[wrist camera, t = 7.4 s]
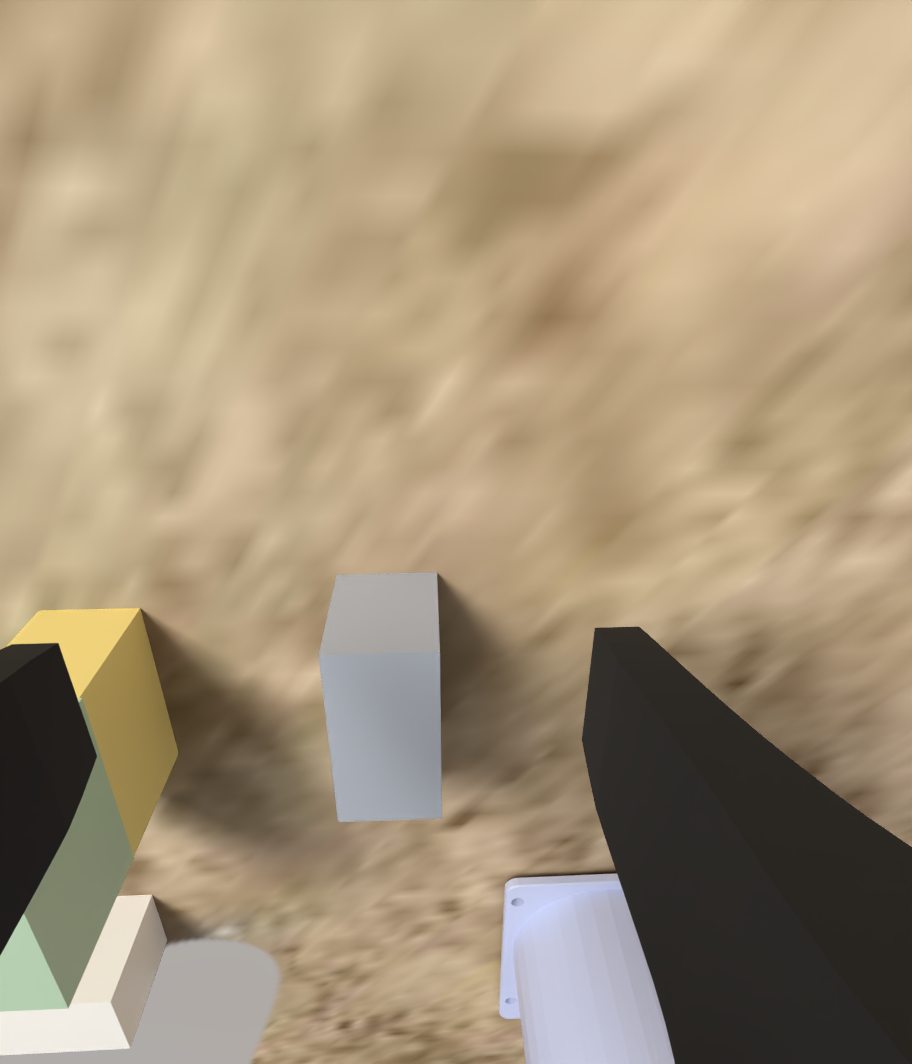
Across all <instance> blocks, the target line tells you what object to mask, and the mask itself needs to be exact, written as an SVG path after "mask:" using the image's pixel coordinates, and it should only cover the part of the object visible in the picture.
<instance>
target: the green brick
mask: <svg viewBox="0 0 912 1064" xmlns="http://www.w3.org/2000/svg"><path fill="white" fill-rule="evenodd" d="M77 699H78V702H79V705H80V707H81V710H82V713H83V716H84V719H85V722H86V725H87V728H88V731H89V734H90V737H91V740H92V742H93V745H94V748H95V751H96V754H97V758H96V761H95V764H94V767H93V769H92V772H91V775H90V777H89V780H88V783H87V786H86V788H85V791H84V794H83V796H82V799H81V801H80V804H79V806H78V809H77V811H76V813H75V816H74V818H73V821H72V823H71V826H70V828H69V830H68V832H67V834H66V836H65V838H64V840H63V842H62V844H61V846H60V847H59V849H58V851H57V853H56V855H55V857H54V859H53V860H52V862H51V864H50V866H49V868H48V870H47V872H46V873H45V875H44V877H43V879H42V881H41V883H40V885H39V886H38V888H37V890H36V892H35V894H34V896H33V897H32V899H31V901H30V903H29V905H28V906H27V908H26V910H25V912H24V914H23V916H22V917H21V919H20V921H19V923H18V925H17V926H16V928H15V930H14V932H13V934H12V935H11V937H10V939H9V941H8V943H7V945H6V946H5V948H4V950H3V952H2V954H1V955H0V1012H3V1011H25V1010H48V1009H68V1008H69V1006H70V1004H71V1001H72V999H73V997H74V995H75V992H76V990H77V988H78V985H79V983H80V981H81V978H82V976H83V974H84V972H85V969H86V967H87V965H88V962H89V960H90V958H91V955H92V953H93V951H94V949H95V946H96V944H97V942H98V939H99V937H100V935H101V932H102V930H103V928H104V926H105V923H106V921H107V919H108V916H109V914H110V912H111V909H112V907H113V905H114V902H115V900H116V898H117V896H118V893H119V891H120V889H121V886H122V884H123V882H124V879H125V877H126V875H127V873H128V870H129V868H130V866H131V863H132V861H133V859H134V856H133V853H132V850H131V846H130V843H129V840H128V837H127V834H126V831H125V828H124V825H123V822H122V819H121V816H120V813H119V810H118V807H117V803H116V800H115V797H114V794H113V791H112V788H111V785H110V782H109V779H108V776H107V773H106V770H105V767H104V764H103V760H102V757H101V754H100V751H99V748H98V745H97V742H96V739H95V736H94V733H93V730H92V727H91V724H90V721H89V717H88V714H87V711H86V708H85V705H84V702H83V699H82V698H77Z"/></svg>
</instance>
